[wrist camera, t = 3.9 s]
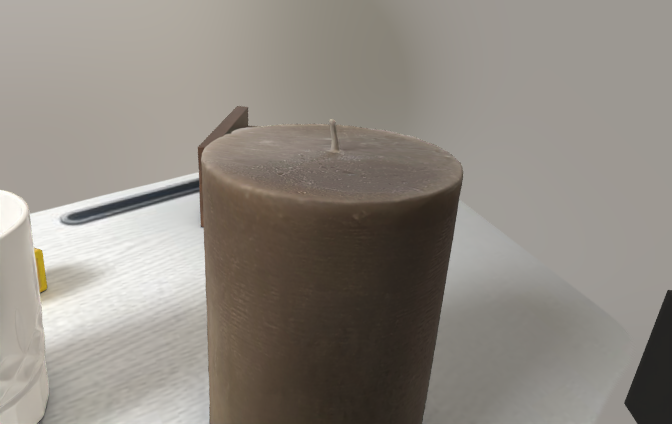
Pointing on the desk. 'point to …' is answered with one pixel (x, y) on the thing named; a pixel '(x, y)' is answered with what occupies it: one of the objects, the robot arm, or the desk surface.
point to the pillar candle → (324, 272)
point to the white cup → (20, 319)
